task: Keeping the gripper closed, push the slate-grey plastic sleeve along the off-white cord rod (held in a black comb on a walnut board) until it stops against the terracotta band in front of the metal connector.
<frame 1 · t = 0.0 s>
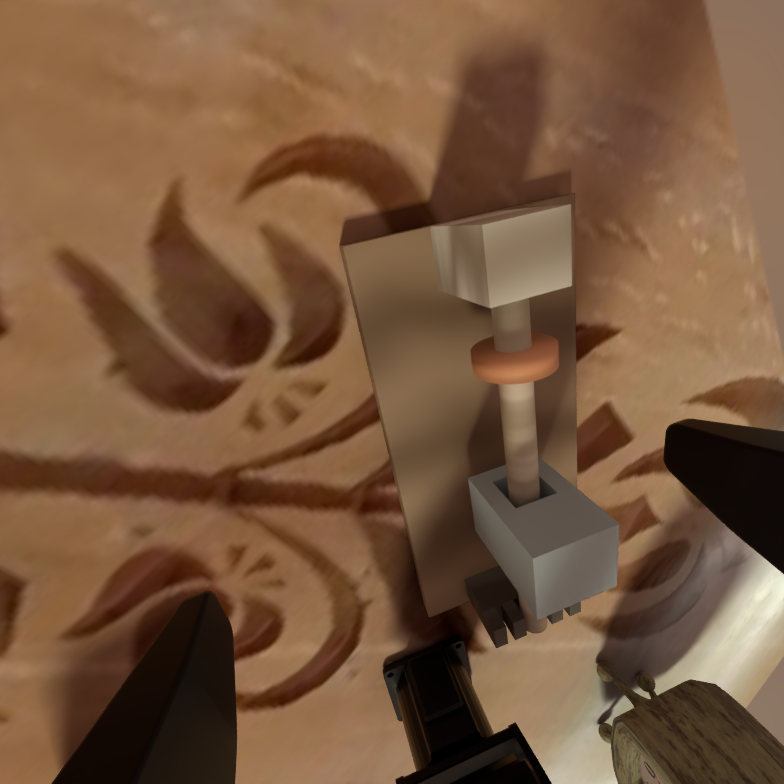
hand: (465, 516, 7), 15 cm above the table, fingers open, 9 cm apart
sleeve: (536, 527, 22), point 5 cm above the table, slide at 0.0 cm
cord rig: (482, 433, 25), on the table
tabletop clock: (621, 680, 41), on the table
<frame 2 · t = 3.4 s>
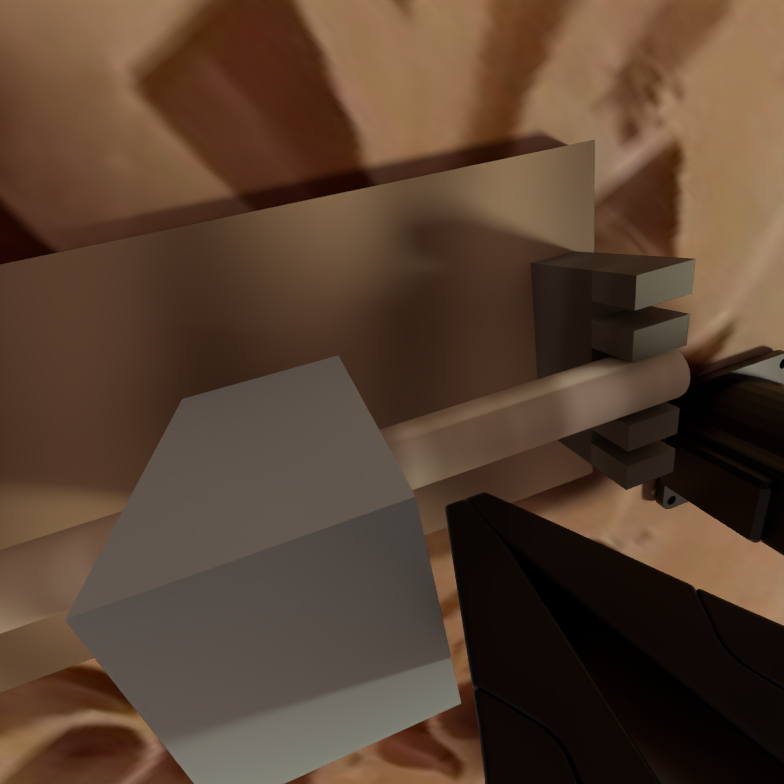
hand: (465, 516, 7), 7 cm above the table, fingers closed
sleeve: (294, 521, 8), point 6 cm above the table, slide at 1.4 cm, touching gripper
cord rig: (237, 429, 13), on the table
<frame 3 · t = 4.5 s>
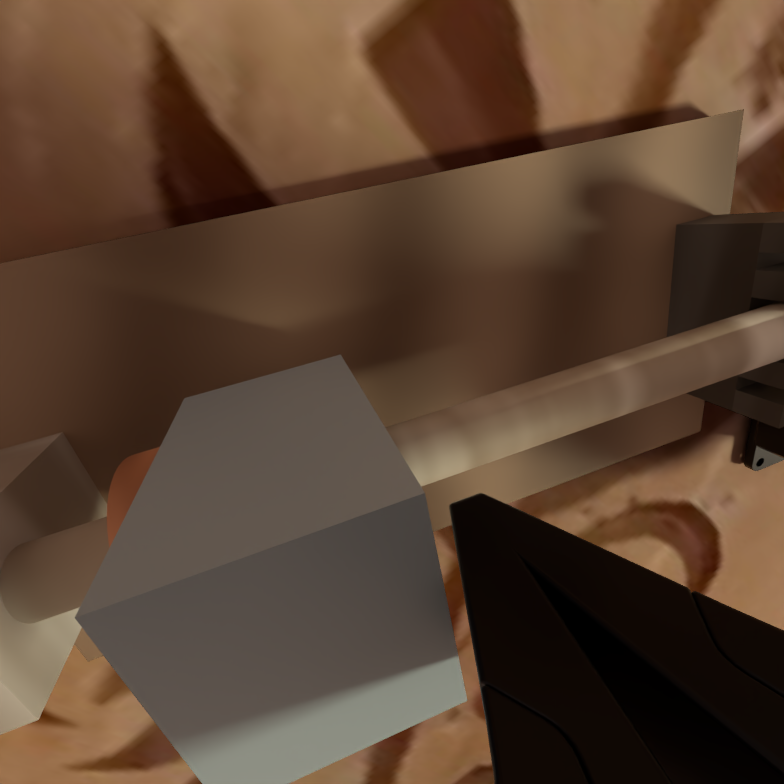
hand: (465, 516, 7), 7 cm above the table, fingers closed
sleeve: (298, 520, 8), point 5 cm above the table, slide at 7.0 cm, touching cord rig, gripper
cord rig: (401, 380, 14), on the table
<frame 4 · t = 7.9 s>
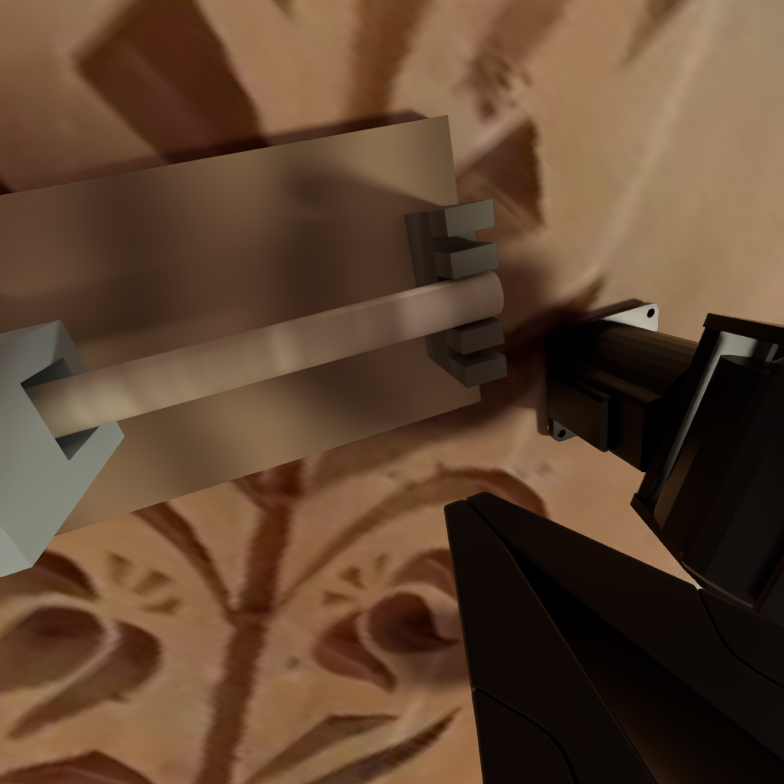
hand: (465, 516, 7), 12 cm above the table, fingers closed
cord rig: (170, 348, 16), on the table
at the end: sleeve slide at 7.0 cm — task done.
